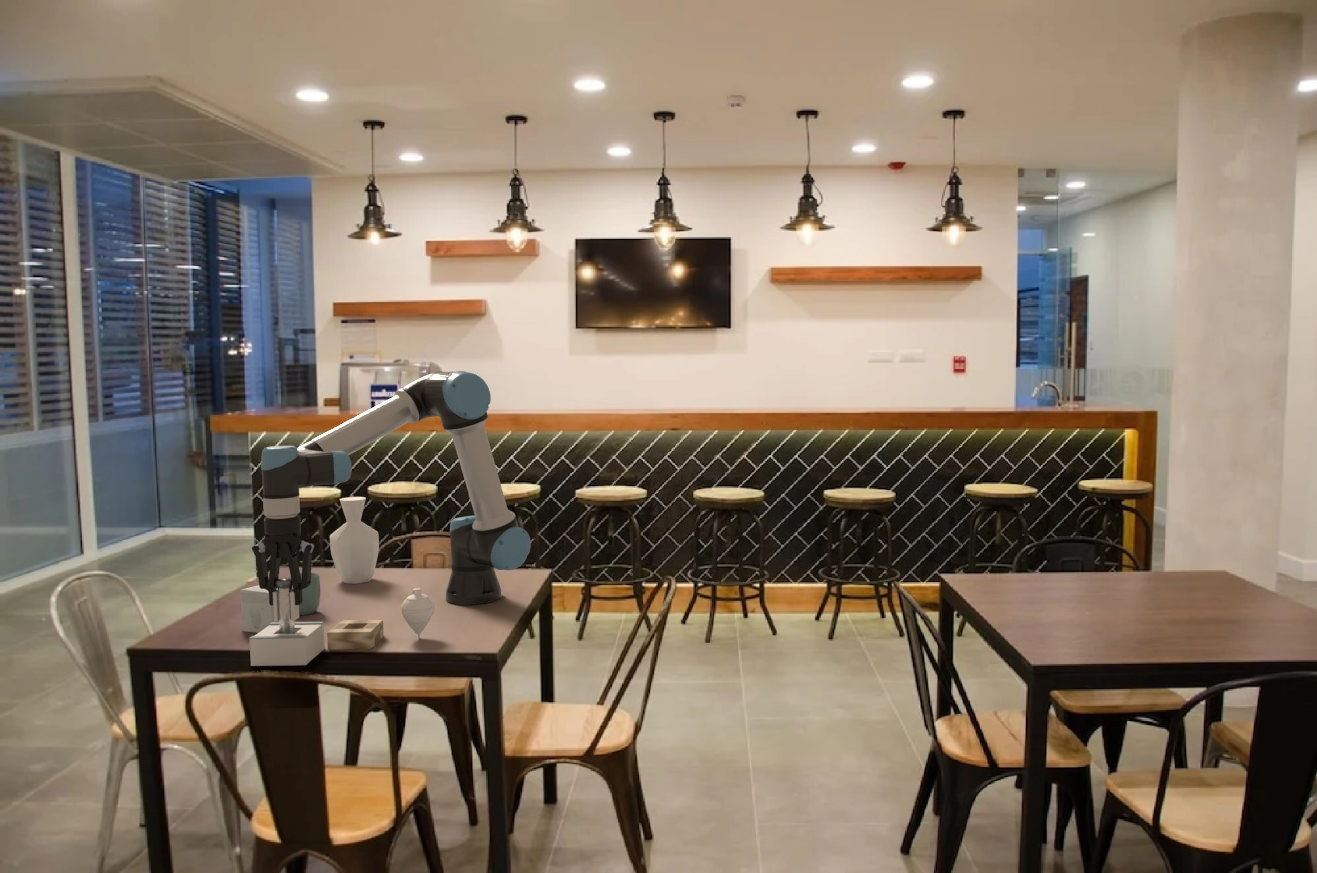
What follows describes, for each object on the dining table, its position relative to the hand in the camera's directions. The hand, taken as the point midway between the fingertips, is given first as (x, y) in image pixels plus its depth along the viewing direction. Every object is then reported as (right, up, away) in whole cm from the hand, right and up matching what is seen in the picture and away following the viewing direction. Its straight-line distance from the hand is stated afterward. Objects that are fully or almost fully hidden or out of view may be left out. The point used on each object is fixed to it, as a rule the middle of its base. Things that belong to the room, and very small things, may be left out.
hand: (286, 618), depth 211 cm
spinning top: (+26, -7, +14) cm, 31 cm away
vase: (-8, -3, +74) cm, 74 cm away
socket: (0, -9, +1) cm, 9 cm away
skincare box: (-14, -7, +23) cm, 28 cm away
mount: (+12, -8, +11) cm, 18 cm away
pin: (0, -6, 0) cm, 6 cm away
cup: (-10, -6, +38) cm, 39 cm away
